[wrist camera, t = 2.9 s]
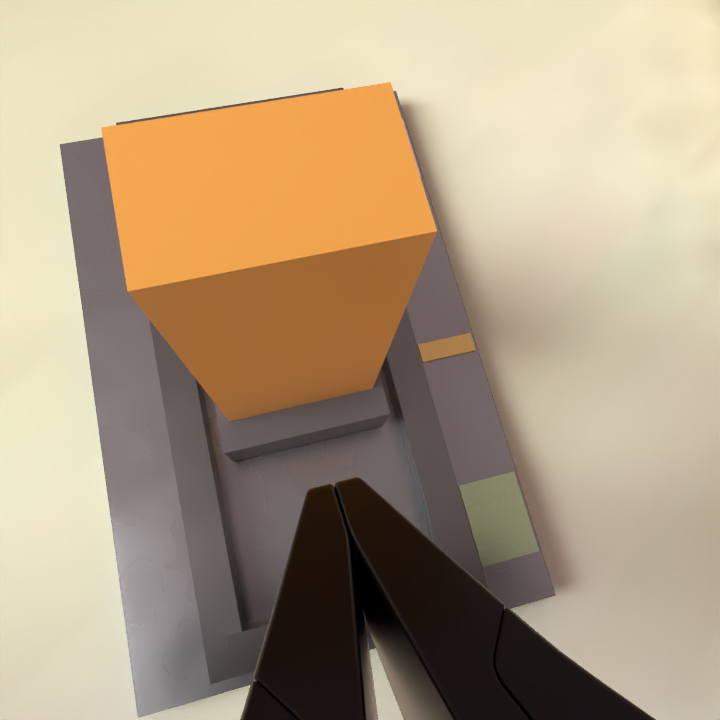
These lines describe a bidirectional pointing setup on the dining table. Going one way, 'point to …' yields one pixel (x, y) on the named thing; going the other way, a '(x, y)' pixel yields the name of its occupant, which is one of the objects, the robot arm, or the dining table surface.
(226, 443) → the breaker toggle
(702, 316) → the dining table surface
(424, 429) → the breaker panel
